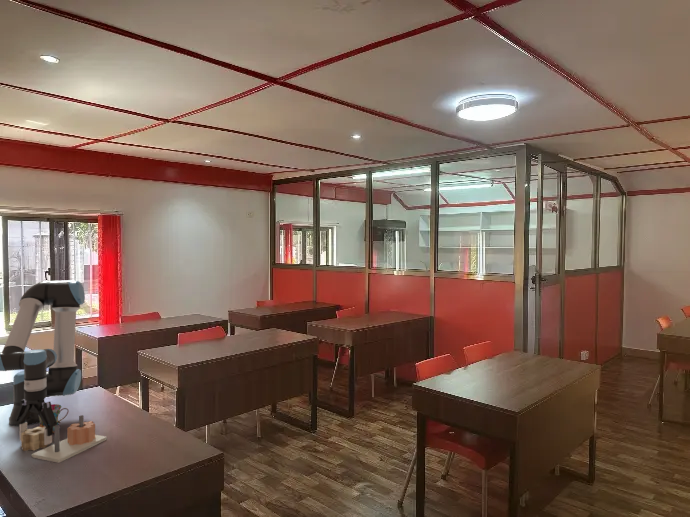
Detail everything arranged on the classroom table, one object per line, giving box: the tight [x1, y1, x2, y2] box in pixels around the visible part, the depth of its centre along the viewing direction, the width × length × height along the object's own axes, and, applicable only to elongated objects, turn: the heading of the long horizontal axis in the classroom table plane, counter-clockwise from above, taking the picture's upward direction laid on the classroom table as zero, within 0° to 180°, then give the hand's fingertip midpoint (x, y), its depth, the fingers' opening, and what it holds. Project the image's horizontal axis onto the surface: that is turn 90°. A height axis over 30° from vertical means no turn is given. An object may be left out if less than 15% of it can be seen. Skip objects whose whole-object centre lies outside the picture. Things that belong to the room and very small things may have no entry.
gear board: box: [31, 414, 108, 464], centre depth 184 cm, size 14×22×11 cm, turn 162°
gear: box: [20, 426, 49, 452], centre depth 186 cm, size 10×10×6 cm
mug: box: [38, 403, 69, 434], centre depth 201 cm, size 12×9×11 cm
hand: (35, 441), depth 186 cm, fingers open, 13 cm apart
